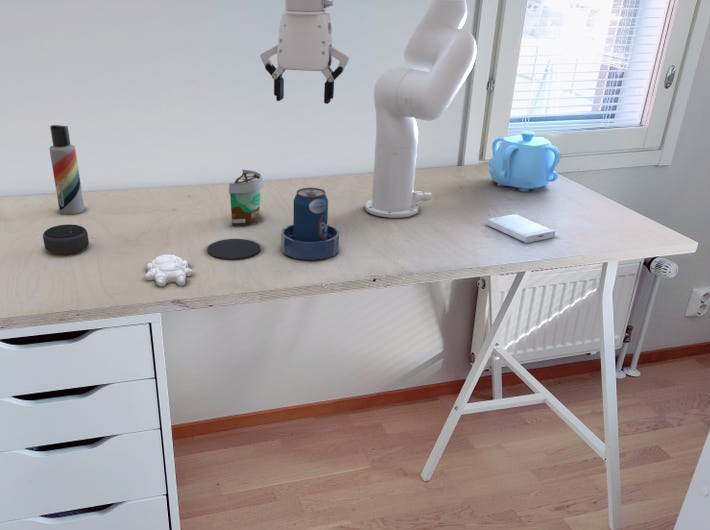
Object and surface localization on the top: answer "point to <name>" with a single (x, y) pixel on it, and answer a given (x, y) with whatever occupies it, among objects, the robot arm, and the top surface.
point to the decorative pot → (524, 161)
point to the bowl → (310, 245)
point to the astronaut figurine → (168, 270)
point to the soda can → (310, 215)
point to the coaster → (233, 249)
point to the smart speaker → (65, 239)
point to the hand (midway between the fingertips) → (303, 101)
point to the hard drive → (521, 228)
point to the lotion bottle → (65, 171)
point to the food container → (245, 198)
